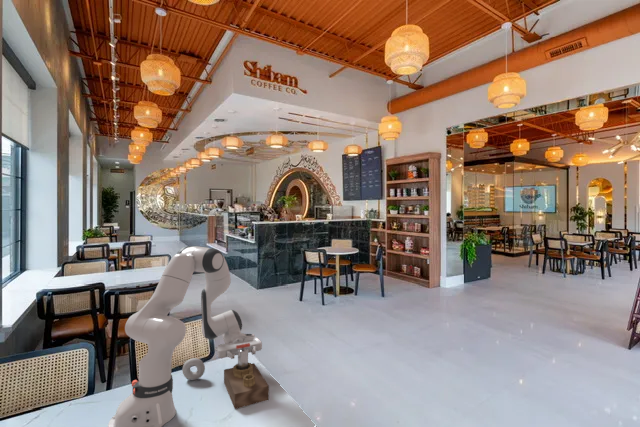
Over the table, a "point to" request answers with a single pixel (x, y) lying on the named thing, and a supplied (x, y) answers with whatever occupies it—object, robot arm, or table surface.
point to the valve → (243, 356)
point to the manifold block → (245, 386)
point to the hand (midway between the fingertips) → (243, 354)
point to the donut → (189, 373)
